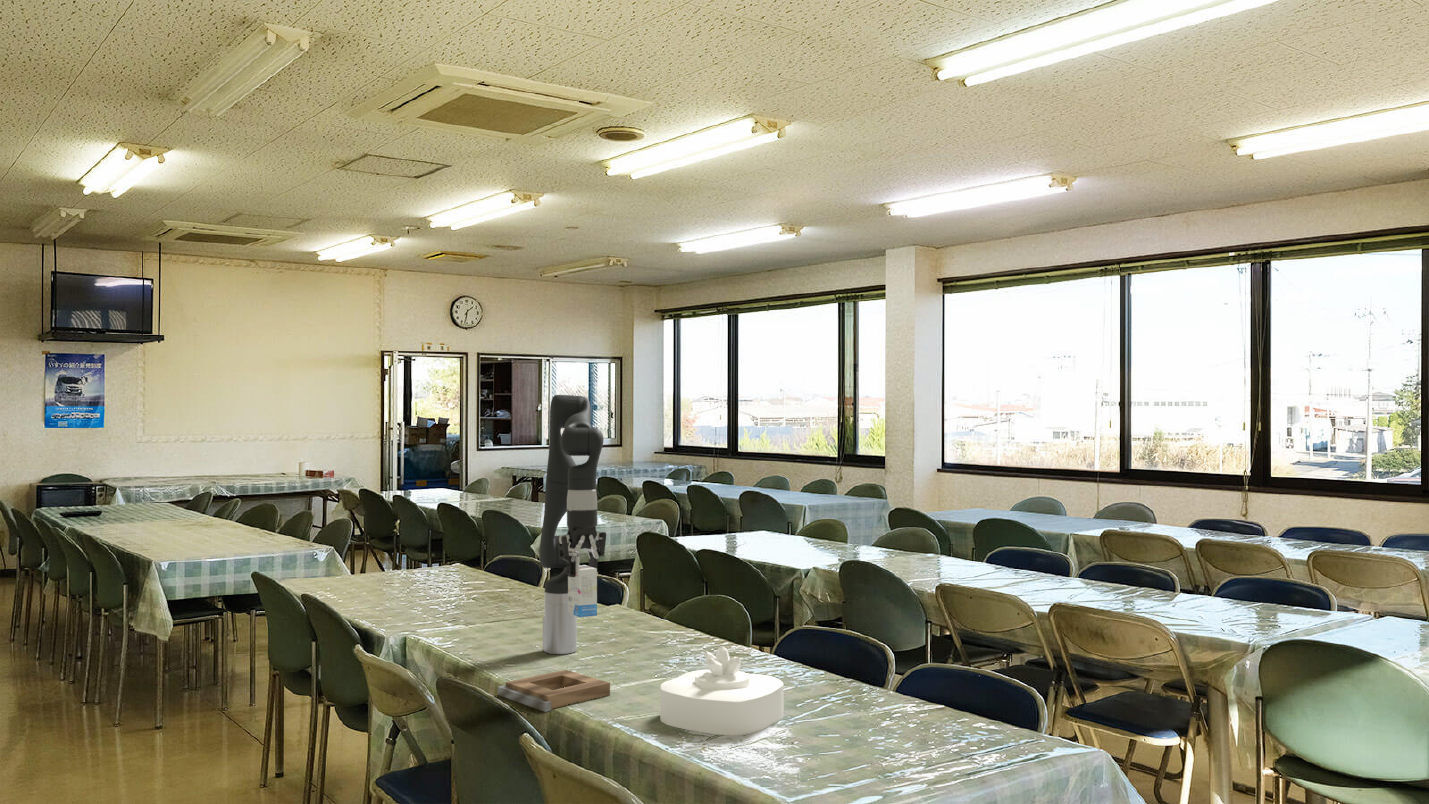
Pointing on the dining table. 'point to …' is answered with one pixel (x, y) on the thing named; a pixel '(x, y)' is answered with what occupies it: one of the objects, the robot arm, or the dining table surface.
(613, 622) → the dining table surface
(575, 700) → the frame
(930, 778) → the dining table surface
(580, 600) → the ink box
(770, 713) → the tissue box
